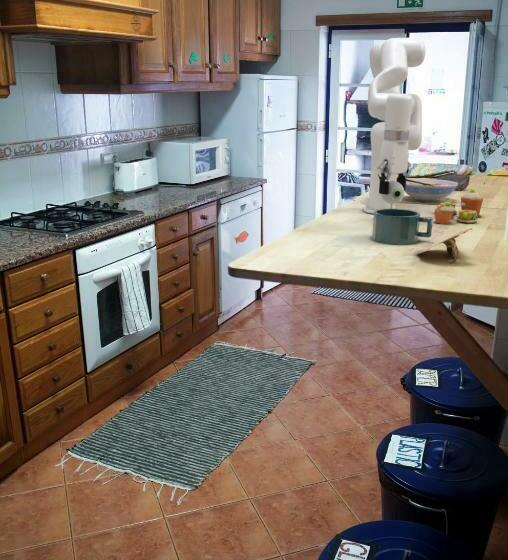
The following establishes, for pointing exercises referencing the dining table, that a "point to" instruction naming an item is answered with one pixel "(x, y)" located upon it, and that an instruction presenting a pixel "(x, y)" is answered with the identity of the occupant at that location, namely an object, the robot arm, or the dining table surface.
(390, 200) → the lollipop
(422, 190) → the ramen bowl
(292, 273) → the dining table surface
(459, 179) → the perforated stone tool
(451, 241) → the tan irregular piece
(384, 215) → the mug
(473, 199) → the toy tea set
